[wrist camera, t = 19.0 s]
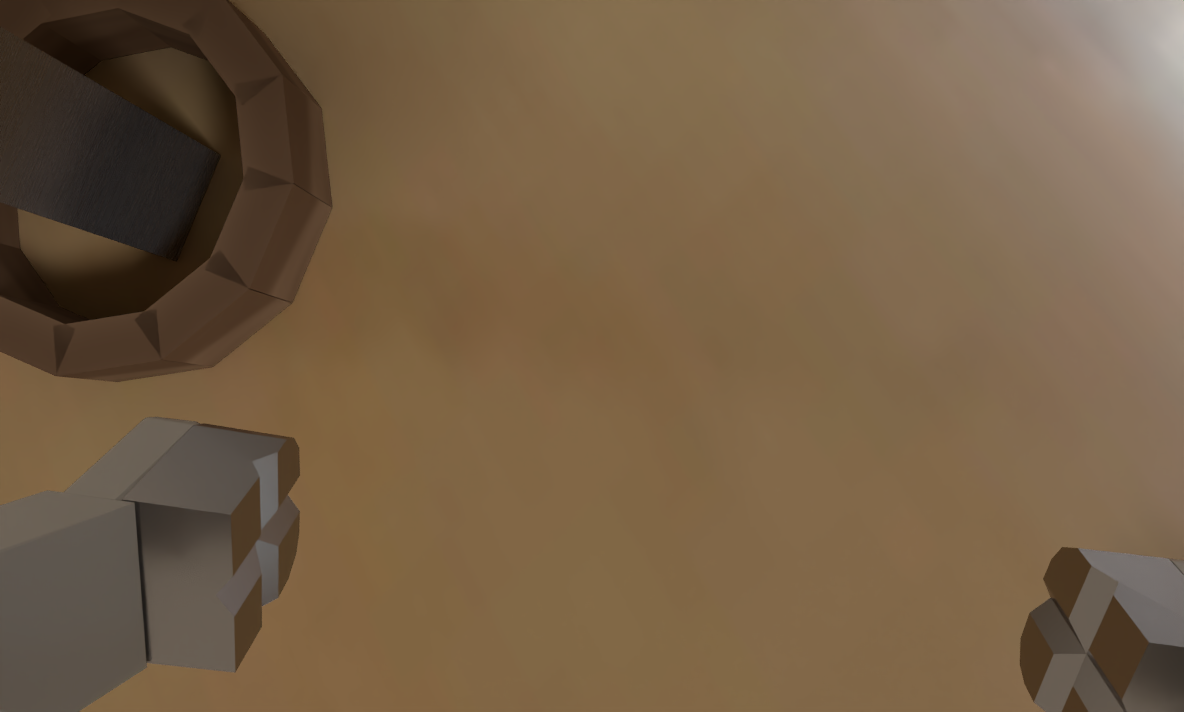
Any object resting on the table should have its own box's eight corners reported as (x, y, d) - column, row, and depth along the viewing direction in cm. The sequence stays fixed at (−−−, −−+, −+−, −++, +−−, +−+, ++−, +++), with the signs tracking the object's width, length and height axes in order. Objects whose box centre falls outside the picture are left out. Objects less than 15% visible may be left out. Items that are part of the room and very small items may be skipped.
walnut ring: (64, -40, 34) (3, -86, 31) (386, 77, 32) (353, 40, 29) (-81, 295, 33) (-158, 281, 30) (237, 434, 31) (188, 434, 28)
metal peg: (123, 118, 33) (-207, -64, 21) (220, 155, 32) (-62, -10, 20) (79, 222, 33) (-278, 99, 21) (176, 261, 32) (-134, 157, 20)
